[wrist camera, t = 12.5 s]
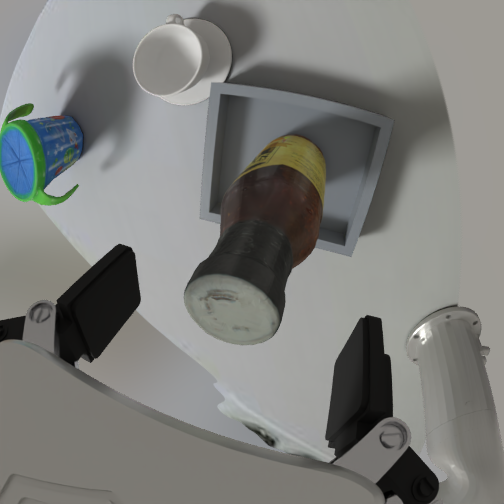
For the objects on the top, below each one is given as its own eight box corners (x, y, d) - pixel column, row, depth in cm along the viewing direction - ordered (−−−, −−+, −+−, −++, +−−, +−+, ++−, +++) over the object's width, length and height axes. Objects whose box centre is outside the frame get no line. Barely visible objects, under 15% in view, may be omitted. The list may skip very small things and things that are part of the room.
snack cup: (112, 168, 33) (57, 200, 25) (74, 198, 38) (27, 230, 29) (69, 76, 27) (9, 88, 19) (35, 117, 31) (-15, 136, 23)
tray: (386, 116, 23) (394, 120, 20) (349, 239, 31) (351, 257, 28) (224, 82, 25) (211, 82, 22) (211, 205, 33) (199, 218, 30)
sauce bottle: (275, 122, 25) (169, 199, 9) (337, 149, 25) (350, 279, 9) (252, 181, 29) (150, 321, 13) (309, 205, 29) (273, 376, 13)
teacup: (232, 104, 26) (216, 107, 22) (149, 107, 28) (124, 113, 24) (234, 14, 21) (217, 2, 17) (148, 27, 23) (122, 23, 19)
